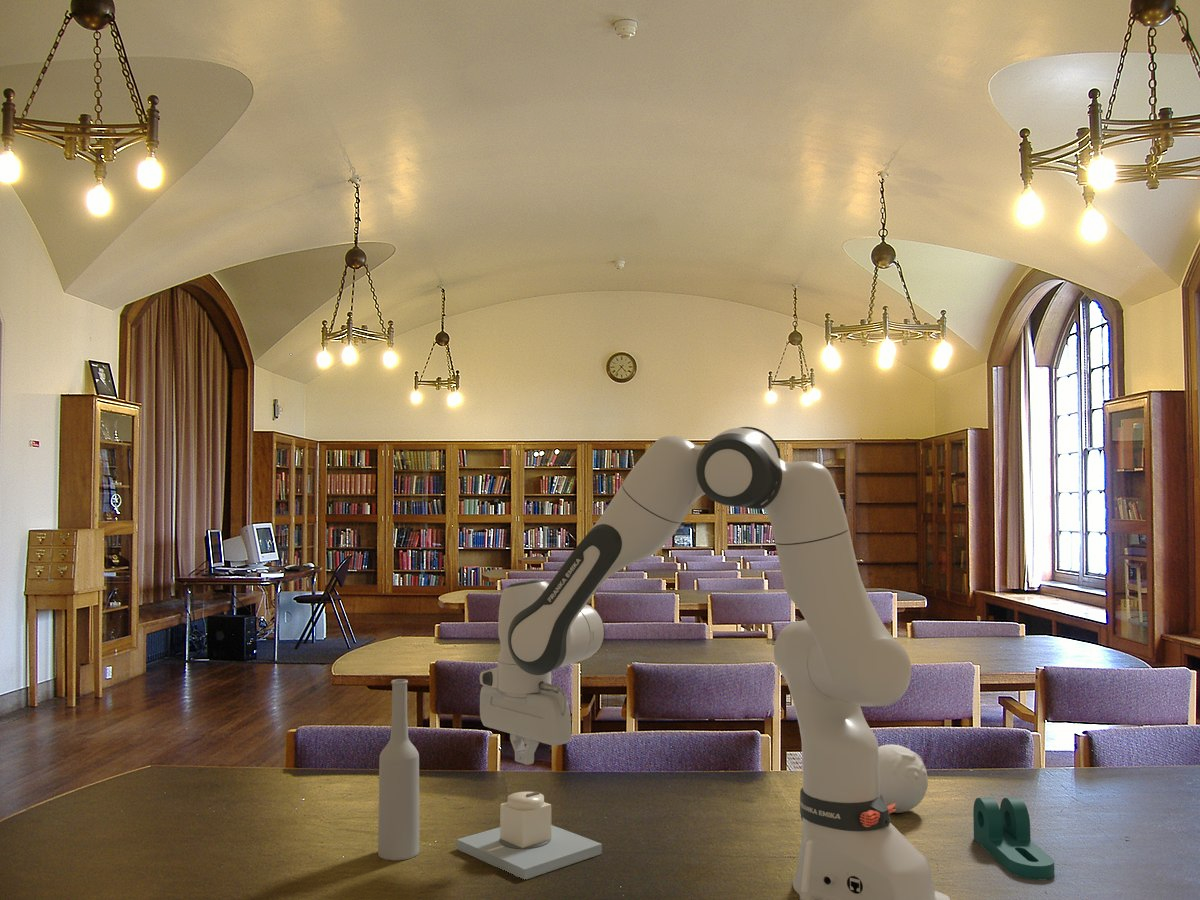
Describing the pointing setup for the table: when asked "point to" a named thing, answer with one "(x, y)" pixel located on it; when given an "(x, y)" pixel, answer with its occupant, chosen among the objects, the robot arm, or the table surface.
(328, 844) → the table surface
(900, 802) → the decorative ball
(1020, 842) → the bracket
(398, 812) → the bottle
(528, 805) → the knob
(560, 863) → the panel
